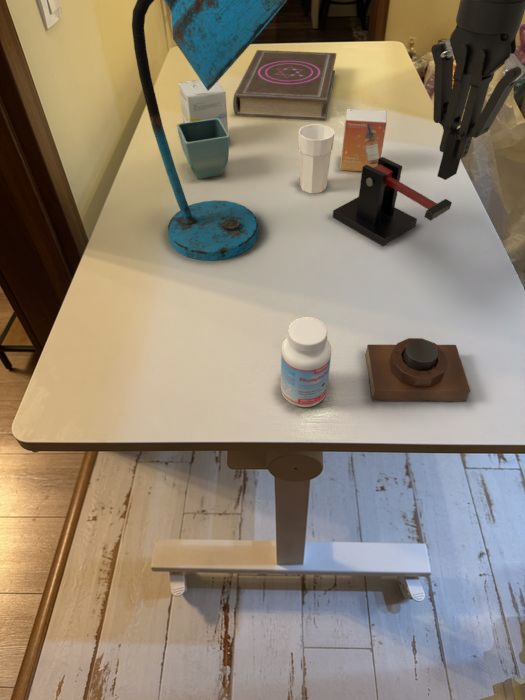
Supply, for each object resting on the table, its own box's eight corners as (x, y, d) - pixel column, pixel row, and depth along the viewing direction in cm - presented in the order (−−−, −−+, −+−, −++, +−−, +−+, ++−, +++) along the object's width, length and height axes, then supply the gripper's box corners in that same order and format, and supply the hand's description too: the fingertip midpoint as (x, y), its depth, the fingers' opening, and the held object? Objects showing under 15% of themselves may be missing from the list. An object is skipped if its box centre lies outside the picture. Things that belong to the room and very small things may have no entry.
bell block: (452, 355, 72) (459, 335, 69) (466, 401, 67) (474, 381, 64) (365, 355, 72) (369, 335, 69) (372, 400, 67) (376, 381, 64)
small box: (339, 171, 107) (344, 119, 99) (341, 157, 110) (346, 107, 103) (378, 173, 106) (387, 122, 98) (379, 160, 110) (387, 109, 102)
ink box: (230, 145, 115) (226, 90, 107) (193, 152, 114) (186, 96, 105) (219, 129, 121) (215, 75, 112) (184, 135, 119) (176, 81, 110)
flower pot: (233, 178, 106) (230, 135, 99) (190, 186, 104) (185, 143, 97) (222, 159, 111) (218, 117, 105) (182, 166, 110) (176, 123, 103)
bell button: (431, 348, 68) (434, 339, 67) (438, 371, 65) (441, 362, 64) (401, 348, 68) (403, 338, 67) (406, 371, 65) (408, 362, 64)
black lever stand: (415, 226, 93) (428, 170, 85) (382, 246, 89) (393, 189, 81) (365, 199, 99) (373, 145, 91) (332, 217, 95) (337, 162, 87)
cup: (327, 196, 100) (332, 141, 92) (294, 193, 101) (295, 138, 93) (331, 179, 105) (336, 125, 96) (299, 176, 106) (301, 122, 97)
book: (325, 120, 123) (326, 98, 119) (233, 115, 126) (232, 94, 122) (334, 72, 143) (336, 52, 140) (255, 69, 146) (255, 49, 142)
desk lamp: (274, 270, 85) (274, -82, 52) (150, 252, 89) (76, -86, 56) (294, 216, 96) (304, -105, 63) (182, 203, 100) (135, -107, 66)
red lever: (448, 212, 84) (453, 199, 82) (429, 224, 82) (434, 211, 80) (382, 173, 90) (385, 161, 88) (363, 183, 88) (366, 171, 86)
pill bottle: (303, 417, 65) (307, 358, 57) (271, 388, 69) (270, 329, 60) (336, 391, 68) (344, 331, 60) (304, 365, 71) (307, 305, 63)
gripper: (431, -16, 62) (396, 167, 80) (531, 7, 55) (469, 201, 73) (467, -28, 65) (426, 151, 83) (566, -7, 59) (499, 182, 76)
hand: (446, 174), depth 78 cm, fingers closed
